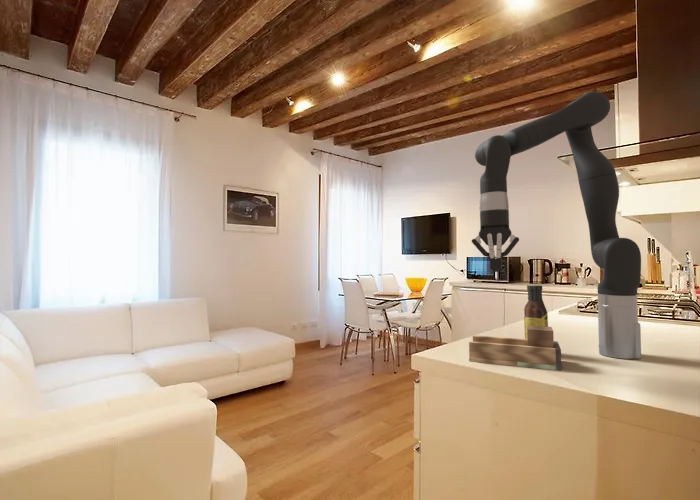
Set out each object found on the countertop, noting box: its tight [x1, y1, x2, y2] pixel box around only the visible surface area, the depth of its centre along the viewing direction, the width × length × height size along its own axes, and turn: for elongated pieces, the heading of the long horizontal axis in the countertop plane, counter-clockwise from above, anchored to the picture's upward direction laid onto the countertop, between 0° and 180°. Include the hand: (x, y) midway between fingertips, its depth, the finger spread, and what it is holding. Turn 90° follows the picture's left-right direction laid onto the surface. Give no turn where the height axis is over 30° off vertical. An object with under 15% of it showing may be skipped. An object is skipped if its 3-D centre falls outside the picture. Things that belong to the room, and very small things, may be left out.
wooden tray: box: [468, 335, 562, 371], centre depth 102 cm, size 22×11×5 cm, turn 65°
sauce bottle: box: [523, 284, 549, 339], centre depth 110 cm, size 6×6×20 cm
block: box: [527, 326, 555, 348], centre depth 100 cm, size 6×6×8 cm
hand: (496, 271), depth 104 cm, fingers closed
